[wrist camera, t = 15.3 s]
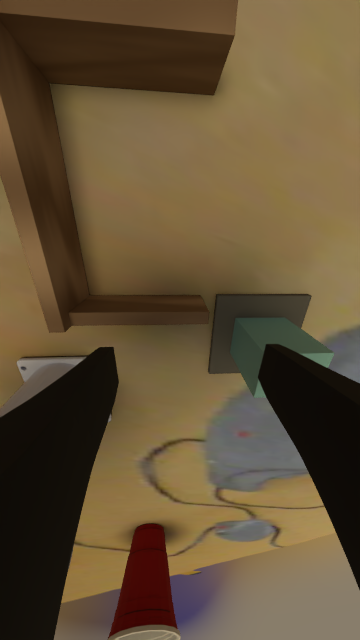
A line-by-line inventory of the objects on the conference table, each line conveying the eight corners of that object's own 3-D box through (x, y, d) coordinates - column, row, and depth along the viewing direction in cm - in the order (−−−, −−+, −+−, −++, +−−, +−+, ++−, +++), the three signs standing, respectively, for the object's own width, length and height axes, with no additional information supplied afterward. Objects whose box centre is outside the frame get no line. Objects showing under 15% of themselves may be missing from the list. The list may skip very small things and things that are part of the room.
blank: (275, 351, 20) (315, 395, 15) (229, 352, 20) (253, 397, 14) (285, 317, 19) (334, 352, 13) (235, 317, 18) (264, 354, 13)
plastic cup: (182, 516, 36) (189, 639, 25) (170, 540, 40) (172, 653, 30) (124, 516, 34) (105, 646, 24) (119, 541, 39) (101, 661, 28)
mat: (284, 368, 22) (286, 371, 22) (208, 370, 21) (209, 373, 21) (308, 294, 18) (311, 295, 18) (216, 294, 18) (217, 296, 17)
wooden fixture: (199, 305, 18) (210, 330, 13) (80, 306, 17) (49, 332, 13) (215, 71, 12) (247, -32, 7) (25, 56, 11) (-77, -73, 6)
